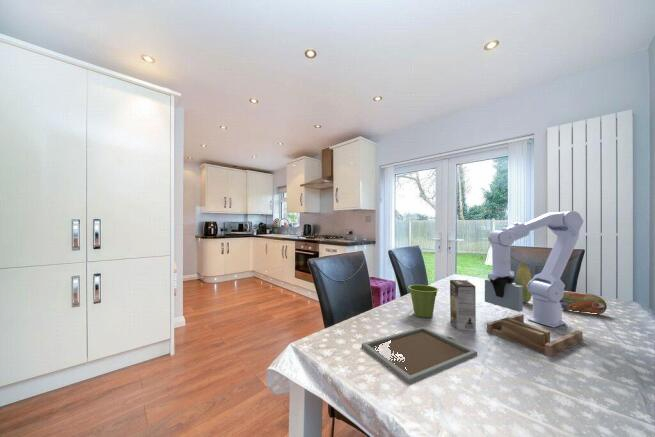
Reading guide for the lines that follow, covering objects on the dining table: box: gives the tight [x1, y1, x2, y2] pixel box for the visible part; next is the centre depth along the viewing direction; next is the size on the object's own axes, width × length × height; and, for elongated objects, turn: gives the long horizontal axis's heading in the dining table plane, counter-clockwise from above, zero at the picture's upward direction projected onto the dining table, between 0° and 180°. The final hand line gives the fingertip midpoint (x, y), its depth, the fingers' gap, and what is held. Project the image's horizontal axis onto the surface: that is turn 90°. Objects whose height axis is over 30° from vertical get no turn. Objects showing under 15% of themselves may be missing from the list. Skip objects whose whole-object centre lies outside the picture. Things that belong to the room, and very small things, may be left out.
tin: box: [560, 291, 608, 315], centre depth 103 cm, size 15×3×8 cm, turn 58°
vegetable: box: [515, 261, 533, 304], centre depth 115 cm, size 6×6×20 cm
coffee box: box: [449, 279, 477, 332], centre depth 89 cm, size 9×6×16 cm
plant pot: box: [407, 284, 439, 318], centre depth 99 cm, size 12×12×11 cm
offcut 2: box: [507, 319, 551, 344], centre depth 79 cm, size 2×11×4 cm, turn 25°
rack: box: [486, 313, 584, 357], centre depth 80 cm, size 22×17×3 cm
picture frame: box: [361, 326, 478, 385], centre depth 71 cm, size 19×2×30 cm
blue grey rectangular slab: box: [484, 278, 524, 313], centre depth 92 cm, size 2×12×9 cm, turn 26°
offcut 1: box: [501, 321, 545, 347], centre depth 77 cm, size 2×11×4 cm, turn 26°
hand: (501, 296), depth 92 cm, fingers closed on blue grey rectangular slab, 2 cm apart
